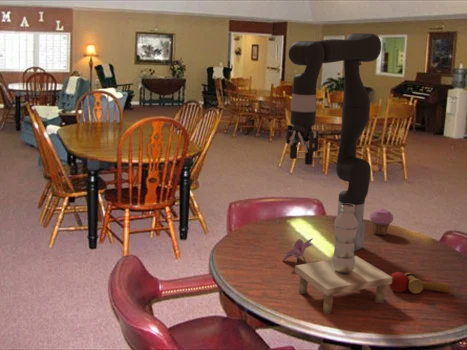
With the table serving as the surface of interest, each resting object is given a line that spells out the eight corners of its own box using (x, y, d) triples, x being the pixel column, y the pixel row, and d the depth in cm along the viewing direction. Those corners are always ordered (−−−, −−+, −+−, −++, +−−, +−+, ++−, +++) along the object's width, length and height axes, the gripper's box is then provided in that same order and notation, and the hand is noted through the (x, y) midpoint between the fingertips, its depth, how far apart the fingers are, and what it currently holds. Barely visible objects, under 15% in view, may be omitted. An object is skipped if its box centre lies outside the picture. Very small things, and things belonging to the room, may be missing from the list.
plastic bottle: (354, 277, 161) (360, 209, 156) (330, 274, 162) (335, 207, 157) (354, 268, 167) (360, 203, 162) (331, 265, 168) (336, 201, 163)
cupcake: (367, 235, 219) (369, 210, 216) (369, 228, 227) (371, 204, 224) (391, 238, 216) (393, 213, 214) (391, 231, 224) (394, 207, 222)
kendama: (439, 289, 177) (383, 281, 176) (445, 272, 174) (389, 264, 173) (447, 305, 170) (389, 296, 168) (454, 287, 167) (395, 278, 166)
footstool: (354, 279, 178) (356, 255, 176) (389, 302, 163) (392, 277, 161) (293, 290, 169) (295, 265, 167) (325, 316, 154) (327, 289, 152)
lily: (317, 261, 195) (307, 234, 196) (326, 260, 183) (315, 232, 185) (285, 273, 193) (275, 246, 194) (292, 273, 182) (281, 245, 183)
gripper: (327, 111, 166) (324, 165, 170) (301, 105, 179) (298, 155, 183) (305, 112, 163) (302, 167, 167) (280, 106, 176) (278, 157, 180)
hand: (300, 161), depth 175 cm, fingers open, 8 cm apart
